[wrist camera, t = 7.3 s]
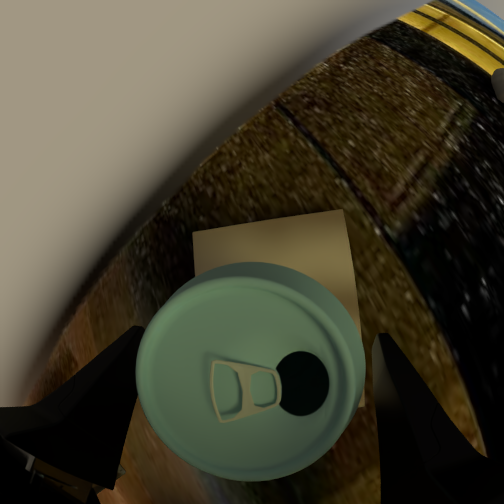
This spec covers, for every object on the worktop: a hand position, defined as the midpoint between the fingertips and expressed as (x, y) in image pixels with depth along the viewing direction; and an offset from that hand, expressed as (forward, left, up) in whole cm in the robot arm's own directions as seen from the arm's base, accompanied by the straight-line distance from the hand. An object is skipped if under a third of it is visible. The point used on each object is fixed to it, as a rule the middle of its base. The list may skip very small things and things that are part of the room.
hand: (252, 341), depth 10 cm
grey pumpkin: (+21, -33, -11) cm, 41 cm away
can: (-1, 0, -9) cm, 9 cm away
